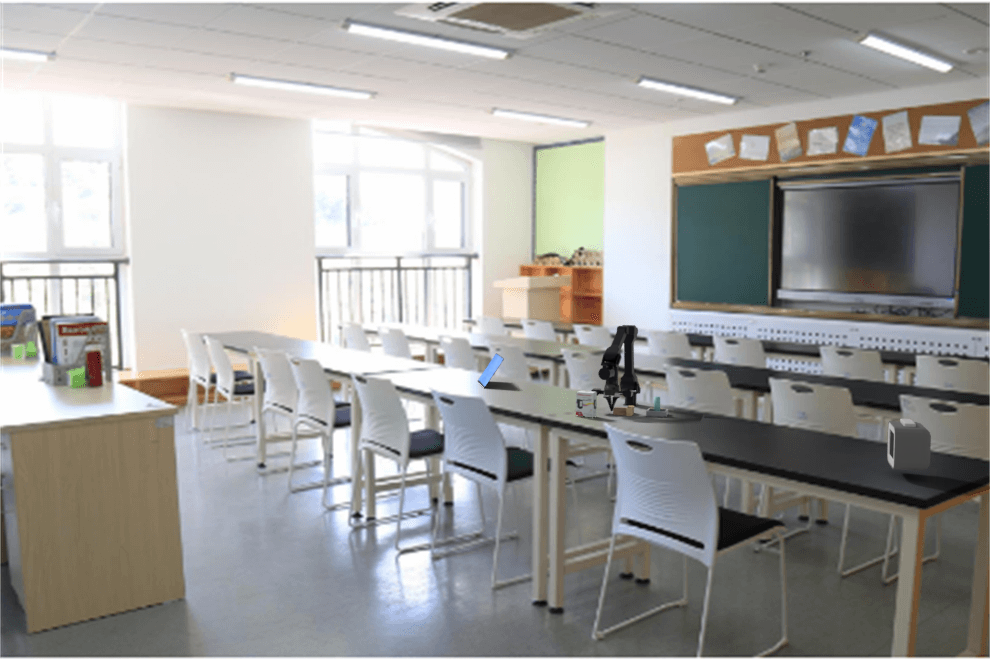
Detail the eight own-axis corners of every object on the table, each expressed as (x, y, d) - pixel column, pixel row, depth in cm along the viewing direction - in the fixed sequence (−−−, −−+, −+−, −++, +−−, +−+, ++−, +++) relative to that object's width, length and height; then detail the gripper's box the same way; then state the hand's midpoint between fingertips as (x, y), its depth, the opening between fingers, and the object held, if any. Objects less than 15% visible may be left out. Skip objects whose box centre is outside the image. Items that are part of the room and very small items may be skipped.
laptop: (442, 385, 506) (442, 353, 505) (496, 384, 511) (496, 353, 509) (446, 392, 477) (446, 359, 475) (504, 391, 481) (504, 358, 480)
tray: (648, 413, 404) (648, 408, 404) (668, 414, 402) (668, 408, 402) (646, 416, 396) (646, 411, 396) (666, 417, 393) (666, 412, 393)
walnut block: (615, 413, 407) (615, 407, 407) (627, 413, 405) (627, 407, 405) (613, 415, 401) (613, 409, 401) (626, 416, 400) (626, 409, 399)
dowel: (652, 414, 399) (652, 397, 398) (656, 413, 401) (656, 396, 400) (658, 414, 397) (657, 397, 396) (661, 414, 399) (661, 396, 398)
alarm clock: (886, 460, 304) (888, 416, 303) (922, 462, 301) (923, 417, 300) (893, 470, 289) (895, 424, 288) (931, 473, 285) (932, 426, 284)
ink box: (575, 417, 394) (575, 391, 393) (579, 415, 399) (579, 390, 398) (592, 418, 390) (593, 392, 389) (596, 417, 395) (597, 391, 394)
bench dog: (628, 413, 406) (628, 405, 406) (634, 413, 405) (634, 405, 405) (626, 415, 398) (626, 408, 398) (631, 416, 398) (631, 408, 397)
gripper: (588, 379, 398) (588, 412, 399) (629, 380, 393) (629, 414, 394) (593, 376, 409) (592, 409, 410) (633, 377, 403) (632, 410, 404)
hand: (611, 411), depth 404 cm, fingers closed
